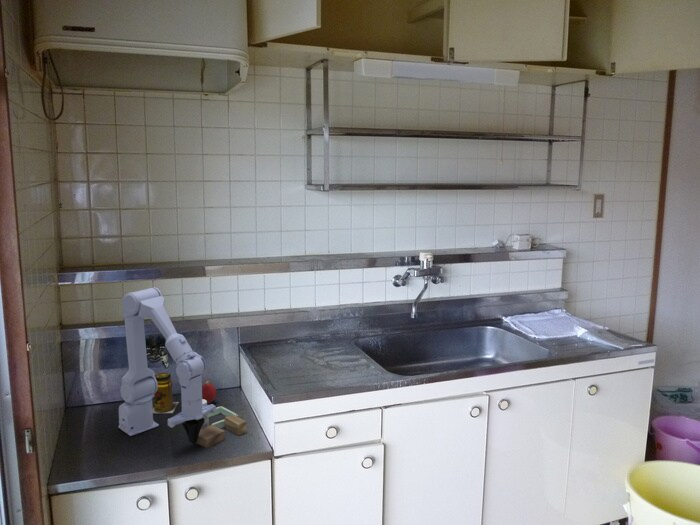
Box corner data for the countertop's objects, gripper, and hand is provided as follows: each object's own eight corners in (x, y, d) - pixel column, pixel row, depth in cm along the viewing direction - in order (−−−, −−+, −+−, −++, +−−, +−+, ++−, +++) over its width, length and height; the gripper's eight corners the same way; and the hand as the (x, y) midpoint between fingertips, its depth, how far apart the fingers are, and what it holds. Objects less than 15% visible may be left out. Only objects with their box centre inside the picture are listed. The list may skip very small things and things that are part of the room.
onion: (212, 408, 197) (211, 385, 195) (196, 406, 198) (195, 383, 196) (219, 401, 202) (218, 379, 201) (203, 399, 204) (203, 377, 202)
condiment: (149, 413, 192) (148, 378, 190) (157, 402, 200) (155, 369, 198) (172, 413, 192) (171, 378, 190) (179, 402, 201) (177, 369, 198)
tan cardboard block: (206, 449, 171) (206, 439, 170) (193, 442, 174) (192, 433, 174) (225, 440, 177) (224, 430, 176) (211, 434, 180) (211, 424, 179)
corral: (213, 430, 181) (212, 424, 181) (195, 420, 188) (195, 414, 187) (238, 421, 188) (238, 415, 188) (221, 411, 195) (221, 405, 194)
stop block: (238, 435, 179) (238, 424, 178) (224, 427, 183) (224, 417, 183) (246, 432, 181) (246, 421, 180) (232, 424, 186) (232, 414, 185)
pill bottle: (194, 423, 186) (193, 398, 184) (209, 423, 186) (209, 398, 185) (191, 430, 181) (191, 405, 179) (207, 430, 181) (207, 404, 180)
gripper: (176, 410, 161) (177, 456, 163) (221, 395, 171) (222, 438, 174) (163, 402, 166) (164, 446, 168) (207, 388, 176) (208, 430, 178)
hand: (193, 442), depth 171 cm, fingers closed
